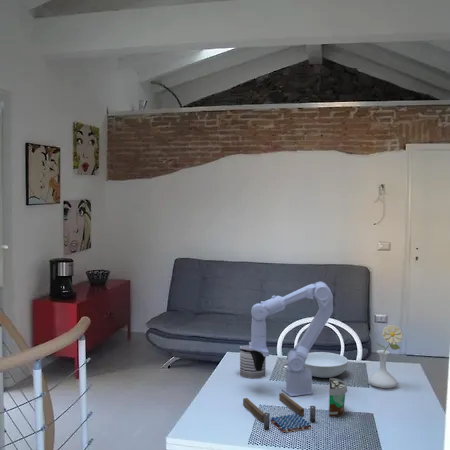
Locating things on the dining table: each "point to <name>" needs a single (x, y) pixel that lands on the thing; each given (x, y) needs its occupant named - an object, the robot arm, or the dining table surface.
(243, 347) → the can
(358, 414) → the dining table surface
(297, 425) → the woven mat
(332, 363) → the serving bowl
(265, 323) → the robot arm
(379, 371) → the flower in vase
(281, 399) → the walled channel
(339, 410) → the food container
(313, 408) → the posts
